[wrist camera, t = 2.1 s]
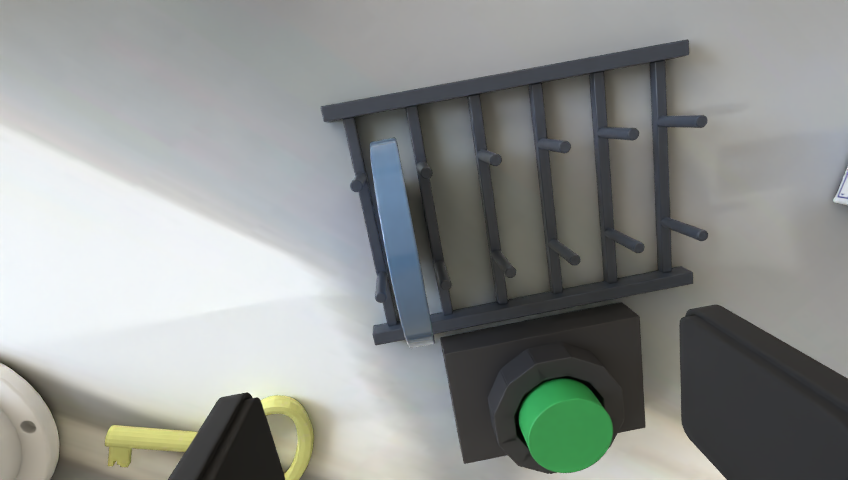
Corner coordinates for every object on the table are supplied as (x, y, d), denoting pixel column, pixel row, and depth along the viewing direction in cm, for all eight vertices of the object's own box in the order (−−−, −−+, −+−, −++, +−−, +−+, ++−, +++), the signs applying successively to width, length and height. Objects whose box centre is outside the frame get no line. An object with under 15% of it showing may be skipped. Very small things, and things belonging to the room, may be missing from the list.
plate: (406, 299, 28) (414, 392, 18) (374, 137, 25) (363, 148, 16) (425, 295, 28) (443, 387, 18) (395, 133, 25) (397, 142, 16)
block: (460, 444, 31) (469, 490, 27) (440, 337, 29) (447, 370, 25) (628, 411, 31) (662, 452, 28) (621, 301, 29) (656, 329, 25)
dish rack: (375, 336, 29) (373, 370, 25) (323, 107, 25) (311, 104, 21) (681, 277, 29) (725, 301, 25) (675, 42, 25) (726, 28, 21)
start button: (523, 454, 27) (533, 480, 25) (513, 386, 26) (523, 408, 24) (599, 439, 27) (616, 464, 25) (594, 370, 26) (610, 391, 24)
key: (112, 412, 29) (91, 435, 27) (307, 389, 29) (301, 409, 27) (141, 503, 31) (123, 531, 28) (323, 479, 31) (319, 505, 29)
